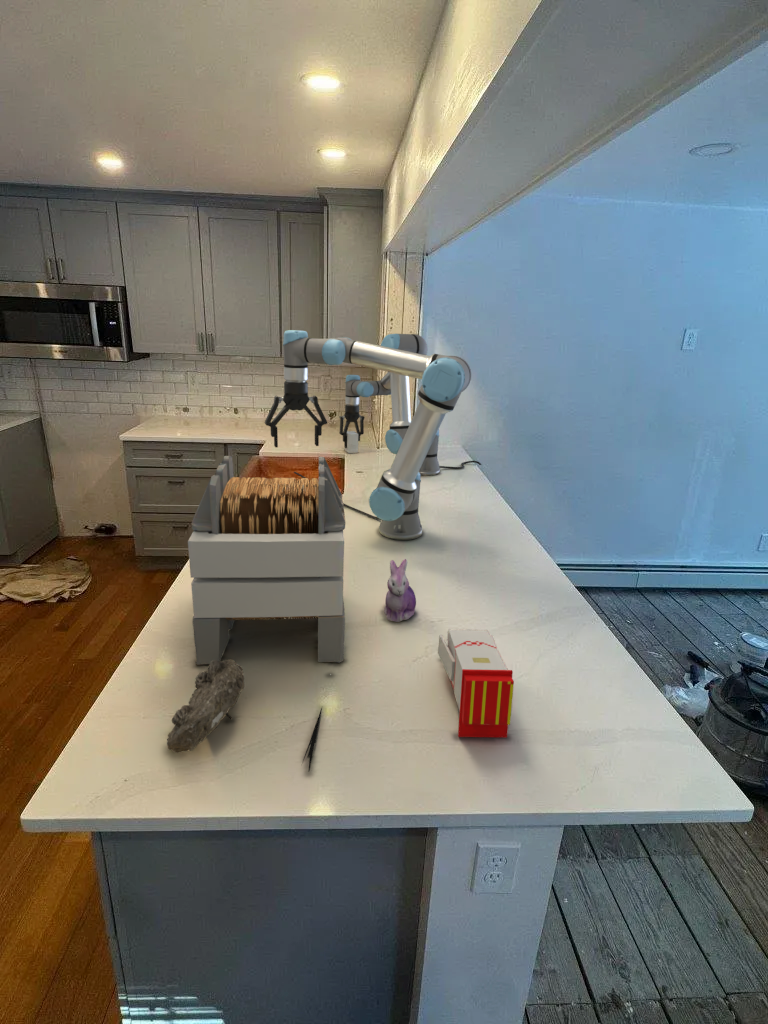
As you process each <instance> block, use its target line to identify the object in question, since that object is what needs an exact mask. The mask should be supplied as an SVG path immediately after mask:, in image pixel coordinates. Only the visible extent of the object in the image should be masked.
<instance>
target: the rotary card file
mask: <svg viewBox="0 0 768 1024" xmlns="http://www.w3.org/2000/svg"><path fill="white" fill-rule="evenodd" d="M217 465H218V466H217V468H216V470H215V473H214V475H211V477H210V479H209V481H208V483H207V485H206V487H205V490H204V493H203V495H202V497H201V499H200V502H199V504H198V507H197V508H196V511H195V512H194V515H193V518H192V520H191V530H192V533H191V534H190V537H189V538H188V540H187V548H188V561H189V562H188V563H189V573H190V574H189V575H190V578H193V579H192V581H191V585H190V586H191V597H192V610H193V612H192V613H193V616H192V631H193V642H194V651H195V665H196V666H202V665H210V662H211V661H212V660H217V661H222V658H223V655H224V652H225V651H226V648H227V647H228V643H229V641H230V631H232V630H233V627H234V622H235V621H253V620H255V621H256V620H257V621H260V620H261V621H264V620H265V621H268V620H269V621H270V620H307V619H308V620H309V619H310V620H312V619H315V620H317V662H318V663H338V664H339V663H341V662H343V661H344V660H345V642H346V641H345V639H346V637H345V636H346V635H345V634H346V631H345V630H346V626H345V625H346V614H345V602H344V601H345V600H344V566H345V565H344V564H345V563H344V562H345V537H344V536H345V535H344V531H345V529H346V517H345V506H343V503H344V499H343V493H342V492H341V490H340V488H339V485H338V483H337V481H336V479H335V477H334V475H333V473H332V470H331V469H330V466H329V464H328V462H327V460H326V457H325V456H319V455H318V477H311V478H308V477H306V478H302V477H301V478H296V477H272V478H271V477H249V476H248V477H245V476H244V477H237V476H236V477H235V476H234V461H233V455H224V456H223V458H222V461H221V463H218V464H217ZM309 480H310V481H309Z"/></svg>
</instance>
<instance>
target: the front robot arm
mask: <svg viewBox="0 0 768 1024" xmlns="http://www.w3.org/2000/svg"><path fill="white" fill-rule="evenodd" d="M308 334H309V333H308V332H307V330H301V329H299V330H298V329H295V330H294V329H289V330H288V329H287V330H285V331H284V332H283V344H282V347H283V380H284V382H283V396H278V395H275V396H274V399H273V403H272V405H271V408H270V410H269V412H268V414H267V416H266V418H265V420H264V424H265V425H266V426H267V427H270V437H272V438H273V446H274V448H279V444H278V443H279V442H278V441H279V439H278V438H279V436H278V426H277V425H278V423H279V422H280V421H281V420H282V419H283V418H284V416H285V415H286V414H287V413H288V412H289V411H303V410H304V411H305V412H306V413H307V414H308V415H309V417H310V418H311V419H312V420H313V421H314V422H315V425H314V445H315V447H319V446H320V444H319V443H320V441H319V440H320V439H319V438H320V436H322V434H323V433H322V432H323V431H322V429H323V426H324V425H327V424H328V421H327V418H326V416H325V414H324V413H323V410H322V408H321V406H320V404H319V399H318V396H316V395H314V394H313V395H312V396H309V390H308V389H309V386H308V385H309V383H308V379H309V377H308V374H309V370H308V369H309V366H308V365H309V364H320V365H328V366H339V365H342V364H343V363H346V364H351V365H356V366H360V367H365V368H368V369H369V368H370V369H374V370H378V371H382V372H386V373H388V372H391V373H395V374H400V375H404V376H409V378H414V379H417V380H421V385H420V387H419V390H418V392H417V398H418V400H419V402H418V405H417V407H416V409H415V412H414V414H413V416H412V417H411V423H410V425H409V427H408V430H407V432H406V434H405V437H404V439H403V441H402V443H401V446H400V448H399V450H398V452H397V454H395V457H394V459H393V461H392V464H391V466H390V468H388V469H387V470H384V471H383V472H382V475H381V476H380V479H379V482H378V484H377V486H376V487H375V489H373V490H372V491H371V493H370V496H369V499H368V505H369V508H370V510H371V512H372V514H373V515H372V514H369V513H368V512H365V511H363V510H360V509H357V508H355V507H354V506H353V507H352V506H350V505H348V504H346V503H345V502H343V506H344V507H345V508H348V509H350V510H352V511H355V512H357V513H359V514H362V515H365V516H367V517H368V518H369V517H370V518H372V519H375V520H377V521H381V522H379V526H378V533H379V534H380V535H381V536H382V537H385V538H387V539H389V540H395V541H410V540H415V539H418V538H420V537H421V536H422V535H423V525H422V524H421V518H420V515H419V507H420V506H419V505H420V494H421V493H420V492H421V483H422V480H421V475H420V473H419V470H420V468H421V466H422V464H423V461H424V459H425V457H426V455H427V453H428V451H429V449H430V446H431V444H432V442H433V440H434V438H435V436H436V434H437V431H438V429H439V430H440V427H441V425H442V423H443V421H444V418H445V416H446V415H447V414H449V413H450V412H453V411H454V409H455V407H456V405H457V403H458V401H459V398H460V396H461V394H462V392H464V391H465V390H467V388H469V385H470V383H471V381H472V369H471V366H470V365H469V363H468V361H466V360H465V359H464V358H462V357H459V356H458V355H446V354H440V353H439V354H438V353H432V354H431V355H428V354H427V355H422V354H417V353H413V352H408V351H403V350H398V349H394V348H389V347H384V346H381V345H379V344H375V343H369V342H365V341H360V340H354V339H351V338H350V337H347V336H340V337H331V338H314V337H313V338H312V337H309V335H308ZM282 402H283V403H284V405H283V407H282V408H281V410H280V411H279V412H278V413H277V414H276V411H277V409H278V407H279V404H281V403H282ZM309 402H310V403H312V404H313V406H314V408H315V410H316V412H317V414H318V417H319V418H320V420H319V418H318V417H317V416H316V415H315V414H314V413H313V412H312V409H310V408H309V406H307V405H308V403H309ZM275 414H276V416H275V417H274V415H275ZM293 474H295V475H296V476H299V477H301V478H307V477H306V476H304V475H302V474H301V473H298V472H296V471H293ZM309 481H310V479H309Z"/></svg>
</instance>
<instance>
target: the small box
mask: <svg viewBox="0 0 768 1024" xmlns="http://www.w3.org/2000/svg"><path fill="white" fill-rule="evenodd" d="M346 436H347V448H345V447H344V451H345V452H346V453H347V454H359V441H358V434H357V431H356V430H347V433H346Z"/></svg>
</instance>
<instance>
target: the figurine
mask: <svg viewBox="0 0 768 1024" xmlns="http://www.w3.org/2000/svg"><path fill="white" fill-rule="evenodd" d="M407 567H408V559H406V558H404V559H403V560H402V561H401V563H400V565H399V566H398V565H397V563H396V562H395V561H394V560H393V559H391V560H390V561H389V570H390V576H389V578H388V579H387V589H388V591H387V592H386V594H385V595H386V596H385V607H384V615H385V616H386V620H387V621H391V622H395V623H400V622H402V621H406V620H409V619H410V618H411V617H413V616H414V615H415V610H416V606H417V597H416V593H415V591H414V590H413V587H411V586H410V582H409V579H408V577H407V574H406V571H407Z"/></svg>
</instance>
